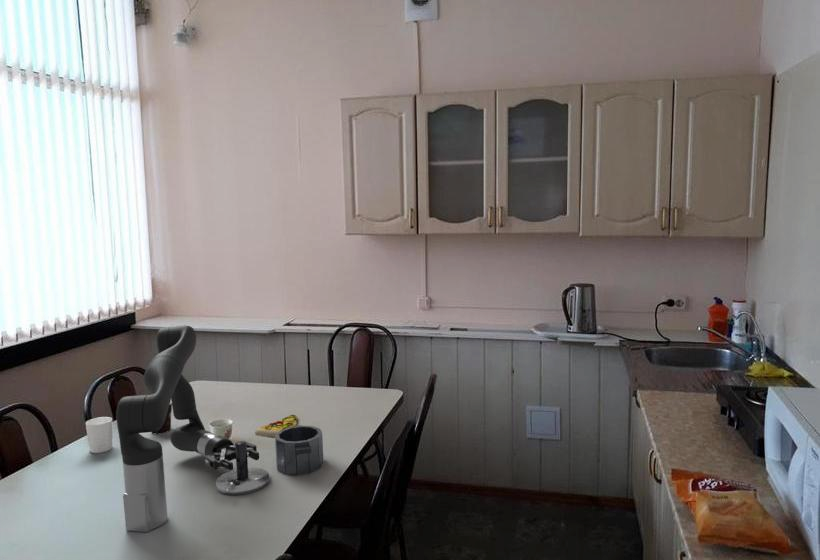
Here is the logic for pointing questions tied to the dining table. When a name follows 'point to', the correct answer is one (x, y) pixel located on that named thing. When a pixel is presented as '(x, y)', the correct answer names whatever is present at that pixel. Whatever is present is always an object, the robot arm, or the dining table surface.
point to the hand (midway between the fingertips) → (245, 461)
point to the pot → (299, 450)
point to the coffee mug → (166, 421)
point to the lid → (242, 475)
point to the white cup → (99, 434)
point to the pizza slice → (277, 426)
